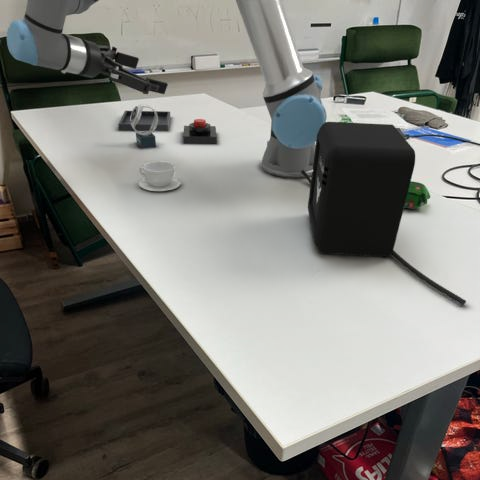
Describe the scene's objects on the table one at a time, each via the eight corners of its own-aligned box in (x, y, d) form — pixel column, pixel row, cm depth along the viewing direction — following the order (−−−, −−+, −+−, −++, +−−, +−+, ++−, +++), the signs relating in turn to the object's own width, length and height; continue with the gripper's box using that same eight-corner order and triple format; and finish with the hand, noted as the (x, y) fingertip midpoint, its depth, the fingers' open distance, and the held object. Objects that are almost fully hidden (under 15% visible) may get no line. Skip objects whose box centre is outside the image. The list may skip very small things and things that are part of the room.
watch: (130, 143, 142) (126, 104, 135) (156, 141, 145) (153, 102, 138) (134, 149, 138) (131, 108, 131) (161, 146, 141) (159, 106, 134)
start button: (205, 128, 145) (205, 122, 144) (194, 127, 145) (193, 121, 144) (205, 124, 148) (205, 119, 147) (194, 124, 148) (193, 118, 147)
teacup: (186, 181, 119) (185, 162, 116) (171, 195, 111) (170, 175, 108) (149, 175, 121) (147, 157, 118) (131, 189, 113) (129, 170, 110)
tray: (168, 131, 154) (167, 124, 153) (118, 130, 153) (118, 124, 151) (170, 117, 168) (170, 111, 167) (125, 116, 167) (124, 110, 166)
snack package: (362, 191, 117) (366, 171, 114) (428, 203, 113) (434, 181, 110) (356, 202, 112) (360, 180, 109) (425, 214, 108) (432, 192, 105)
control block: (216, 144, 144) (216, 130, 142) (183, 143, 144) (183, 130, 141) (215, 133, 154) (215, 120, 152) (184, 132, 153) (183, 119, 151)
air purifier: (305, 213, 106) (317, 118, 94) (371, 216, 106) (391, 121, 94) (312, 257, 90) (328, 149, 78) (390, 261, 89) (418, 153, 78)
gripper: (49, 48, 117) (121, 67, 133) (102, 100, 108) (172, 113, 124) (56, 15, 113) (129, 39, 129) (112, 66, 104) (183, 85, 120)
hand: (150, 75), depth 126 cm, fingers open, 13 cm apart
